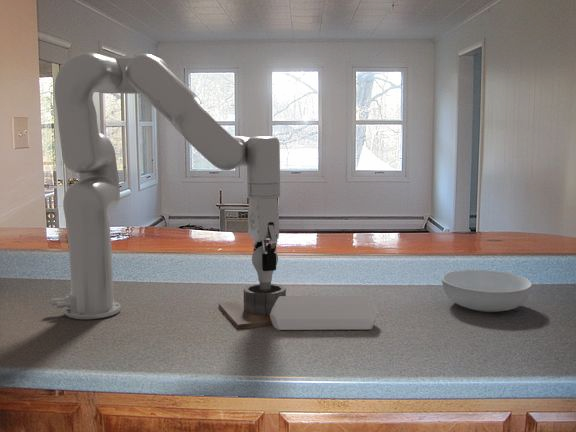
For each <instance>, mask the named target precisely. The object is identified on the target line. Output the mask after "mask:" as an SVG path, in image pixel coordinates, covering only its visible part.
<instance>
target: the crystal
mask: <svg viewBox="0 0 576 432" xmlns="http://www.w3.org/2000/svg"><path fill="white" fill-rule="evenodd" d="M378 316H379V313H378V311H377V309H376V307H375V305H374V304H373V301H372V299H371V297H370V295H286V296H279V298H278V299H277V300H276V302H275V304H274V306H273V308H272V310H271V313H270V318H271V321H272V324H273V325H272V326H273V327H274V328H275V329H276V330H278V331H280V330H281V331H285V330H286V331H289V330H290V331H291V330H293V331H297V330H299V331H301V330H304V331H306V330H307V331H309V330H310V331H314V330H315V331H317V330H322V331H324V330H327V331H328V330H335V331H336V330H337V331H338V330H372V329H373V327H374V326H375V324H376V322H377V320H378Z"/></svg>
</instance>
